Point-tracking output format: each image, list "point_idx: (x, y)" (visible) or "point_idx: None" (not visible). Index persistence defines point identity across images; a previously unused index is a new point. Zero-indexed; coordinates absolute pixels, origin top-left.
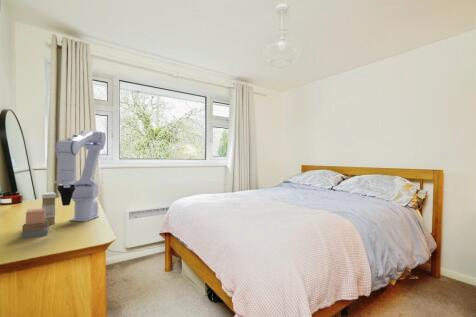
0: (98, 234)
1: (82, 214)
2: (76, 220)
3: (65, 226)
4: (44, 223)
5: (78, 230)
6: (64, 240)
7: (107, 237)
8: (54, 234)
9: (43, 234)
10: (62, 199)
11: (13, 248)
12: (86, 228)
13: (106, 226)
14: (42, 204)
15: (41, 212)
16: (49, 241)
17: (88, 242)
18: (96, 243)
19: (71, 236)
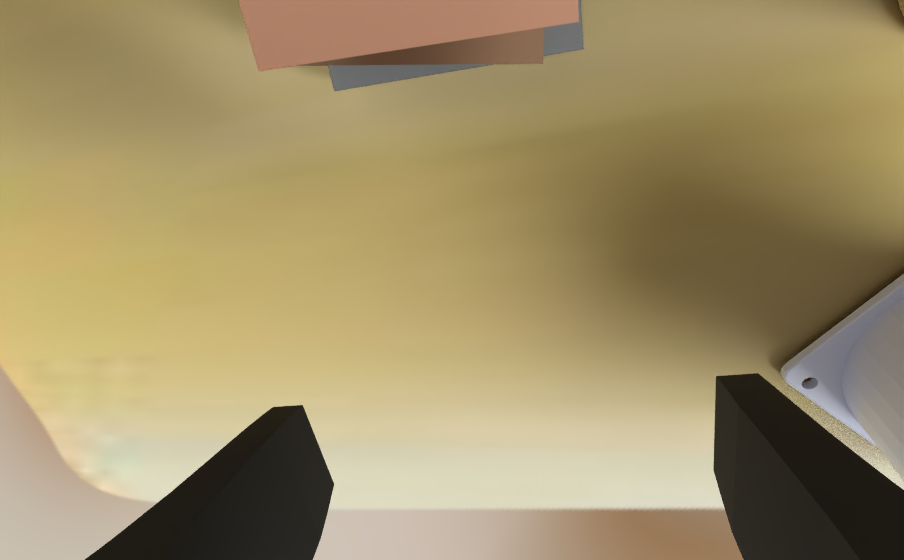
0: None
1: (889, 403)
2: (878, 299)
3: (670, 204)
4: (312, 64)
5: (429, 332)
6: (152, 259)
7: None
8: (360, 149)
9: None
10: (166, 515)
11: None
12: (473, 385)
13: (472, 505)
14: None
15: (262, 16)
16: (142, 151)
17: (89, 399)
18: (66, 435)
19: (251, 295)
